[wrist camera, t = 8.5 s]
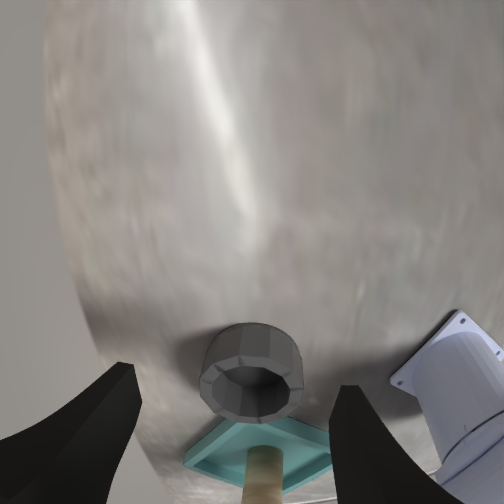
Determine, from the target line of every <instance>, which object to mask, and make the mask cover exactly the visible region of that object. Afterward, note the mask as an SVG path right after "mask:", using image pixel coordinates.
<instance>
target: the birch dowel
mask: <svg viewBox="0 0 504 504" xmlns="http://www.w3.org/2000/svg"><path fill="white" fill-rule="evenodd" d="M283 456H284V454H283V451H282V450H281V449H279V448H277V447H274V446H270V445H259V446H255V447H252V448H251V449H249V450H248V454H247V462H246V470H245V479H244V487H243V495H242V503H241V504H282V487H283Z"/></svg>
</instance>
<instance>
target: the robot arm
mask: <svg viewBox="0 0 504 504" xmlns="http://www.w3.org/2000/svg"><path fill="white" fill-rule="evenodd" d="M461 319H463V320H461ZM503 359H504V350H503V349H502V348H501V347H500V346H499V345H498V344H497V343H496V342H495V341H494V340H493V339H492V338H490V337H489V336H488V335H487V334H486V333H485V332H484V331H483V330H482V329H481V328H480V327H479V326H478V325H477V324H476V323H475V322H474V321H473V320H472V319H471V318H469V317H468V316H467V315H466V314H465V313H464V312H463V311H462V310H458V311H456V312H455V313H454V314H453V315H452V316H451V317H450V319H449V320H448V321H447V322H446V323H445V324H444V325H443V326H442V327H441V328H440V329H439V330H438V332H437V333H436V334H435V335H434V336H433V337H432V338H431V339H430V340H429V341H428V342H427V343H426V344H425V345H424V346H423V347H422V348H421V349H420V350H419V351H418V352H417V353H416V354H415V355H414V356H413V357H412V358H411V359H410V360H409V361H408V362H407V363H405V364H404V365H403V366H402V367H401V368H400V369H399V370H398V371H397V372H396V373H395V374H394V375H392V376H391V378H390V383H391V385H393V386H395V387H397V388H399V389H401V390H403V391H405V392H407V393H409V394H411V395H413V396H415V397H417V399H418V401H419V404H420V407H421V409H422V412H423V414H424V417H425V419H426V422H427V425H428V427H429V430H430V433H431V435H432V438H433V441H434V444H435V447H436V449H437V452H438V455H439V458H440V461H441V464H442V466H441V467H440V468H439V469H438V470H437V471H436V472H435V476H436V480H437V483H438V484H437V483H436V482H435V481H434V480H432V479H431V478H430V477H429V476H428V475H427V474H426V473H425V472H424V471H423V470H422V469H421V468H420V467H419V466H418V465H417V464H416V463H415V462H414V461H413V460H412V459H411V458H410V457H409V455H408V454H407V453H406V452H405V451H404V450H403V448H402V447H401V446H400V445H399V443H398V442H397V441H396V440H395V438H394V437H393V436H392V434H391V433H390V432H389V430H388V429H387V427H386V426H385V425H384V423H383V422H382V421H381V419H380V418H379V416H378V415H377V413H376V412H375V410H374V409H373V407H372V406H371V404H370V402H369V401H368V399H367V398H366V396H365V395H364V393H363V391H362V390H361V388H360V387H359V386H358V385H341V388H340V391H339V394H338V397H337V400H336V403H335V406H334V408H333V411H332V414H331V417H330V419H329V446H330V453H331V459H332V466H333V472H334V479H335V486H336V492H337V501H338V504H504V366H503V365H502V364H501V361H502V360H503ZM399 381H400V382H399ZM141 405H142V399H141V395H140V391H139V387H138V382H137V378H136V374H135V369H134V365H133V364H128V363H123V362H117V363H116V364H115V365H113V366H112V367H111V368H110V369H109V370H108V371H106V372H105V373H104V374H103V375H102V376H101V377H99V378H98V379H97V380H96V381H95V382H94V383H92V384H91V385H90V386H89V387H88V388H86V389H85V390H84V391H83V392H81V393H80V394H79V395H78V396H77V397H75V398H74V399H73V400H71V401H70V402H69V403H67V404H66V405H64V406H63V407H62V408H61V409H59V410H58V411H56V412H55V413H53V414H52V415H50V416H49V417H47V418H45V419H44V420H42V421H40V422H38V423H37V424H35V425H33V426H31V427H29V428H27V429H25V430H23V431H21V432H19V433H17V434H14V435H12V436H10V437H7V438H5V439H2V440H0V504H106V502H107V498H108V494H109V491H110V487H111V484H112V480H113V477H114V474H115V472H116V469H117V467H118V464H119V462H120V460H121V458H122V455H123V453H124V451H125V449H126V446H127V444H128V442H129V439H130V437H131V435H132V433H133V430H134V428H135V426H136V423H137V419H138V416H139V412H140V409H141Z"/></svg>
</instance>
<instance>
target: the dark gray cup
mask: <svg viewBox="0 0 504 504" xmlns="http://www.w3.org/2000/svg"><path fill="white" fill-rule="evenodd" d="M199 382H200V397H201V398H202V399H203V400H204V402H205V403H206V404H207V405H208V406H209V407H210V408H211V410H212V411H213V412H214V413H216V414H218V415H221V416H223V417H225V418H227V419H229V420H232V421H234V422H238V423H249V424H265V423H269V422H273V421H276V420H280V419H284V418H285V417H286V416H288V415H289V414H290V413H291V412H293V411H294V410H295V409H296V408H297V407H299V406H300V402H301V398H302V394H303V390H304V382H303V369H302V358H301V356H300V353H299V350H298V347H297V345H296V343H295V342H294V340H293V339H292V338H291V337H290V336H289V335H287V334H286V333H285V332H283V331H282V330H280V329H278V328H276V327H273V326H270V325H267V324H262V323H243V324H238V325H234V326H231V327H229V328H227V329H225V330H223V331H222V332H221V333H219V334H218V335H217V336H216V337H215V339H214V340H213V342H212V344H211V346H210V348H209V349H208V350H207V354H206V357H205V361H204V364H203V368H202V371H201V375H200V378H199Z"/></svg>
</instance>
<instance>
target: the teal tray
mask: <svg viewBox="0 0 504 504" xmlns="http://www.w3.org/2000/svg"><path fill="white" fill-rule="evenodd" d="M259 445H270V446H274V447H277V448H279V449H281V450H282V451H283V454H284V456H283V487H282V495H284V494H286V493H288V492H290V491H292V490H294V489H296V488H298V487H300V486H302V485H304V484H306V483H308V482H310V481H311V480H313V479H315V478H317V477H319V476H321V475H322V474H324V473H326V472H328V471H329V470H331V469H333V466H332V459H331V453H330V446H329V433H328V432H325V431H322V430H320V429H317V428H315V427H312V426H309V425H307V424H304V423H302V422H299V421H297V420H294V419H292V418H290V417H287V416H286V417H285V418H284V419H280V420H276V421H273V422H269V423H265V424H249V423H238V422H234V421H232V420H229V419H227V418H226V419H224V420H223V421H222V422H221V423H220V424H219V425H218V426H216V427H215V428H214V429H213V430H212V431H211V432H209V433H208V434H207V435H206V436H205V437H204V438H202V439H201V440H200V441H199V442H198V443H196V444H195V445H194V446H193V447H192V448H190V449H189V450H188V451H187V452H185V456H184V460H183V464H182V466H184V467H187V468H189V469H191V470H194V471H196V472H199V473H202V474H204V475H207V476H210V477H212V478H215V479H218V480H221V481H224V482H227V483H230V484H233V485H236V486H239V487H242V488H243V487H244V479H245V470H246V462H247V454H248V450H249V449H251V448H252V447H255V446H259Z"/></svg>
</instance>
